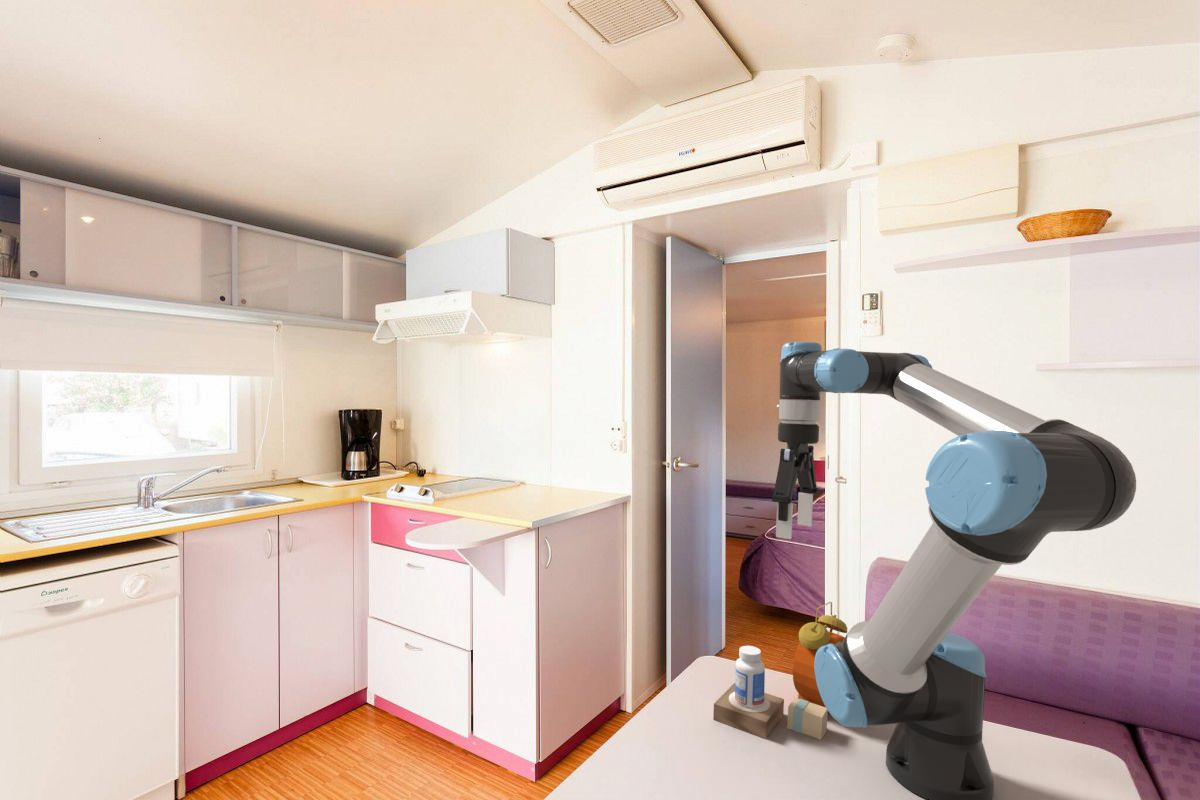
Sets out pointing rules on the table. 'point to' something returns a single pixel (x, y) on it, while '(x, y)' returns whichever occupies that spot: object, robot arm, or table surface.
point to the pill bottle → (749, 677)
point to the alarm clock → (814, 653)
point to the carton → (807, 718)
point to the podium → (749, 713)
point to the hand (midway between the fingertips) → (794, 531)
